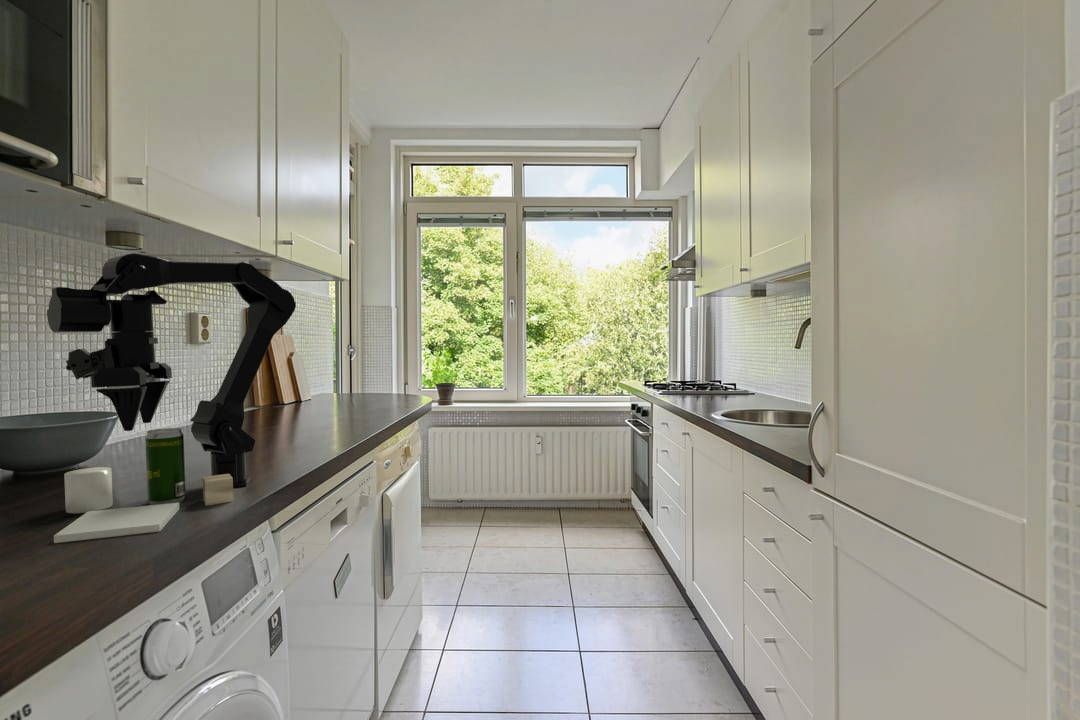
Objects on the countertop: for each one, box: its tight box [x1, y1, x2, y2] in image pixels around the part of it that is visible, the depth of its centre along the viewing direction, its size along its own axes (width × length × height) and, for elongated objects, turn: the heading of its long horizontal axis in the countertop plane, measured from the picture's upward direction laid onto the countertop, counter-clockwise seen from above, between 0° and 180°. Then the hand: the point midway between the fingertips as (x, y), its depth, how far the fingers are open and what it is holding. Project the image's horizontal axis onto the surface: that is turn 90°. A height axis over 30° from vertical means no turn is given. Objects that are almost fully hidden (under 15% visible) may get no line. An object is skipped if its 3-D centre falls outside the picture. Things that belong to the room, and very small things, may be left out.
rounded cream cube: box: [63, 466, 114, 514], centre depth 93 cm, size 6×6×6 cm
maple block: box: [202, 474, 234, 506], centre depth 96 cm, size 4×4×4 cm
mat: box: [53, 502, 181, 544], centre depth 84 cm, size 12×12×1 cm
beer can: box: [144, 427, 187, 505], centre depth 96 cm, size 5×5×12 cm
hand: (138, 426), depth 95 cm, fingers open, 9 cm apart
